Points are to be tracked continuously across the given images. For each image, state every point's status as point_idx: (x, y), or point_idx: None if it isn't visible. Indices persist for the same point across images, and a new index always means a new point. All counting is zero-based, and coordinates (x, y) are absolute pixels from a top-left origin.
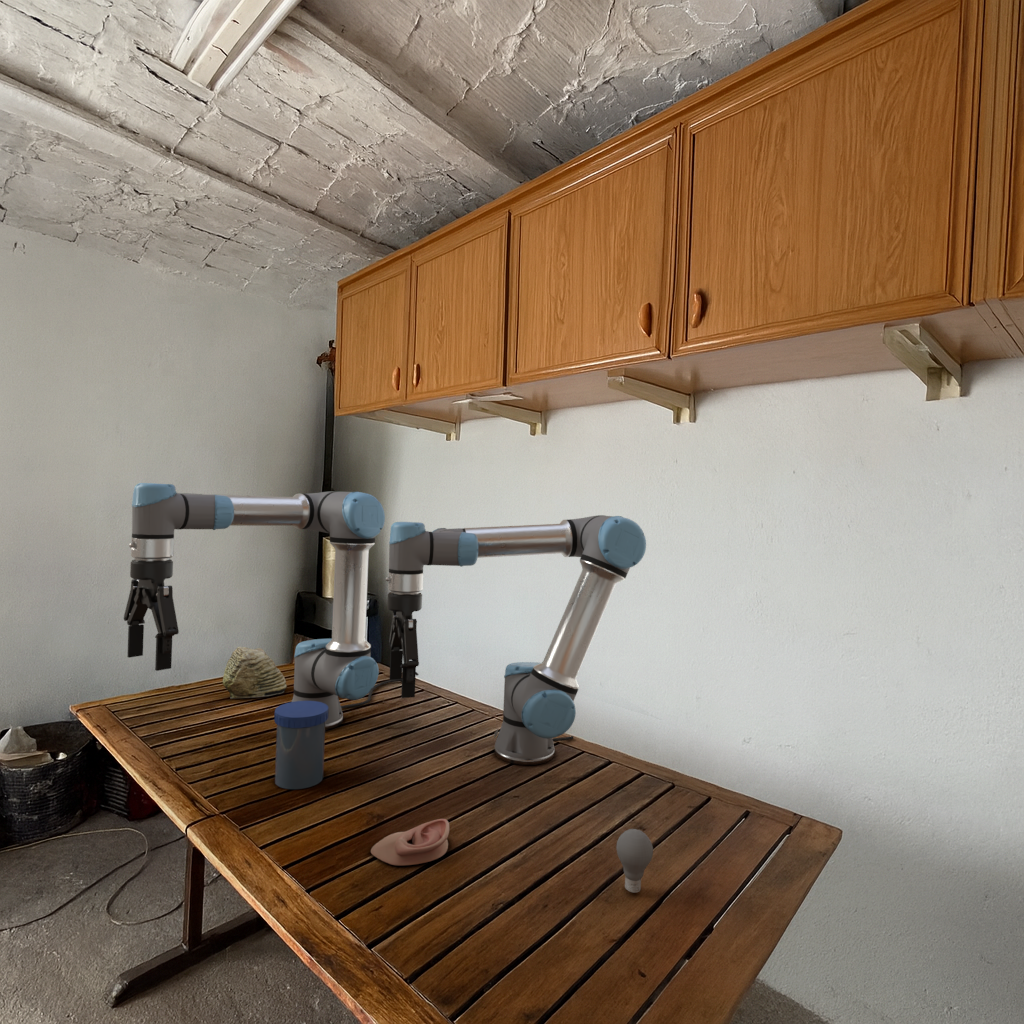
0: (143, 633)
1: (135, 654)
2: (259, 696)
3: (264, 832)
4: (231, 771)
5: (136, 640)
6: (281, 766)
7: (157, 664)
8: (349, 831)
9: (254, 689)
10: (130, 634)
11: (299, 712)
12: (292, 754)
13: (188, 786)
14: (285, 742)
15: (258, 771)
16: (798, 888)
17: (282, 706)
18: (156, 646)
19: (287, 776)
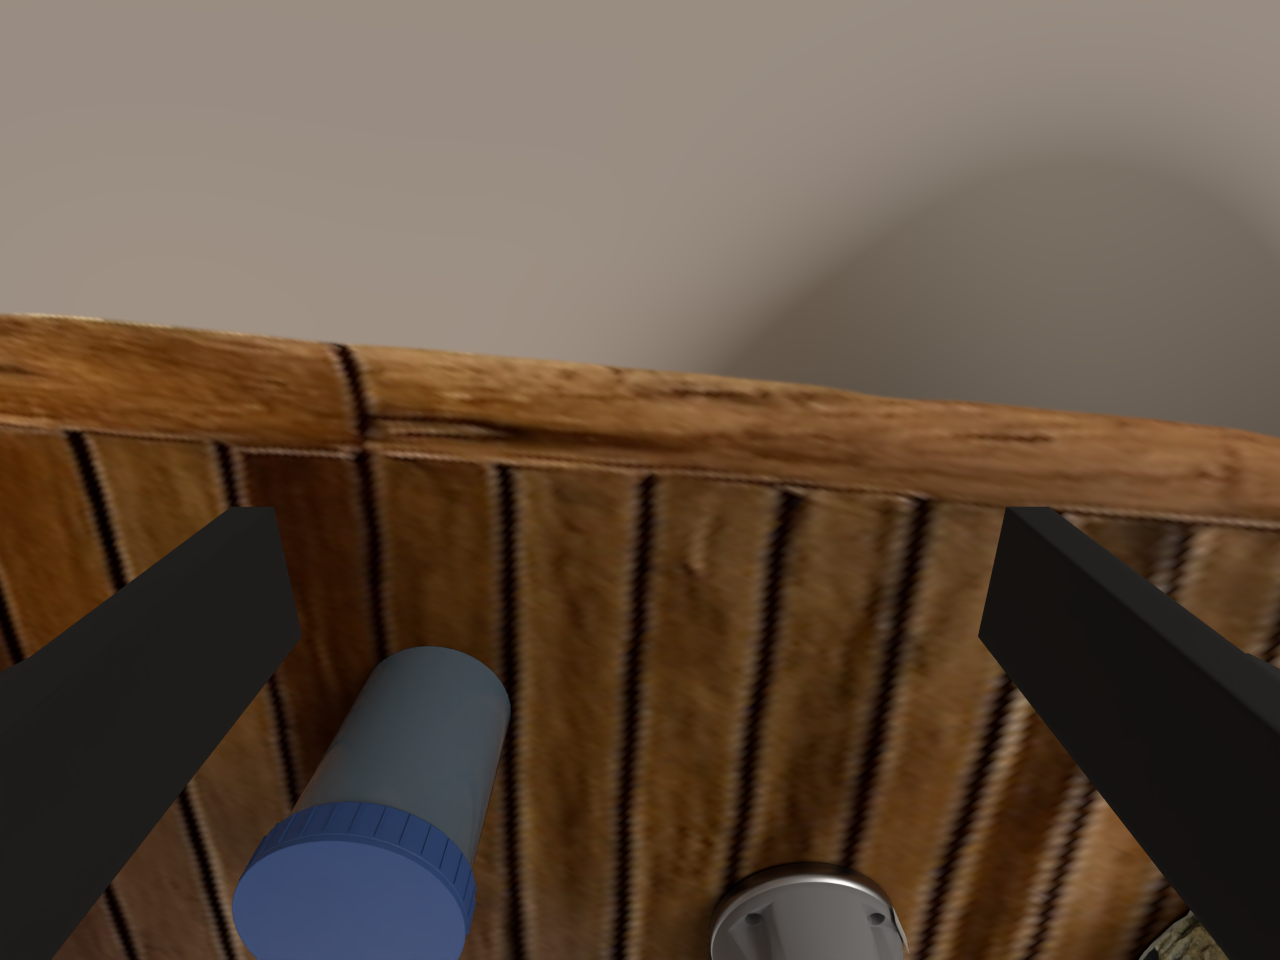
0: (1145, 851)
1: (1005, 582)
2: (1164, 935)
3: (161, 482)
4: (637, 604)
5: (1108, 698)
6: (393, 691)
7: (193, 544)
8: (38, 634)
9: (1196, 952)
10: (1213, 697)
11: (306, 900)
12: (338, 739)
13: (626, 465)
14: (347, 760)
15: (575, 657)
16: None
17: (430, 893)
18: (42, 676)
19: (380, 679)
